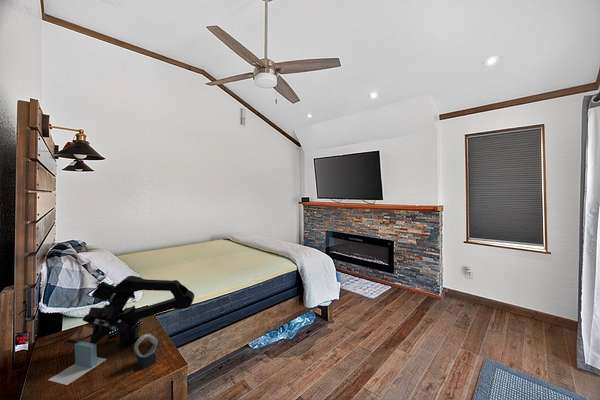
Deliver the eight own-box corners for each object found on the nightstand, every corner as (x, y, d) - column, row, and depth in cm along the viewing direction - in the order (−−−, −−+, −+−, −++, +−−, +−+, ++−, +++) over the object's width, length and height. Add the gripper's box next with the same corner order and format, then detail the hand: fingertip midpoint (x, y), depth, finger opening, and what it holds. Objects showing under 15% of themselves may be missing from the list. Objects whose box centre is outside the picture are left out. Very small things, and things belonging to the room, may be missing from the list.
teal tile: (80, 361, 101) (80, 341, 101) (96, 364, 99) (96, 344, 99) (75, 364, 99) (74, 343, 99) (91, 368, 97) (90, 347, 97)
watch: (160, 360, 103) (160, 332, 102) (139, 371, 96) (138, 342, 96) (153, 355, 106) (152, 328, 105) (131, 366, 99) (131, 337, 99)
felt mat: (89, 356, 105) (89, 355, 105) (106, 359, 102) (106, 359, 102) (47, 380, 91) (47, 379, 91) (67, 385, 89) (67, 385, 89)
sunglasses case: (63, 340, 115) (72, 324, 118) (79, 341, 121) (87, 325, 124) (90, 349, 109) (99, 332, 112) (105, 349, 115) (113, 332, 118)
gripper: (85, 295, 108) (55, 335, 98) (120, 300, 103) (92, 343, 93) (105, 305, 116) (79, 343, 106) (138, 310, 111) (114, 351, 101)
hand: (90, 345), depth 101 cm, fingers closed
